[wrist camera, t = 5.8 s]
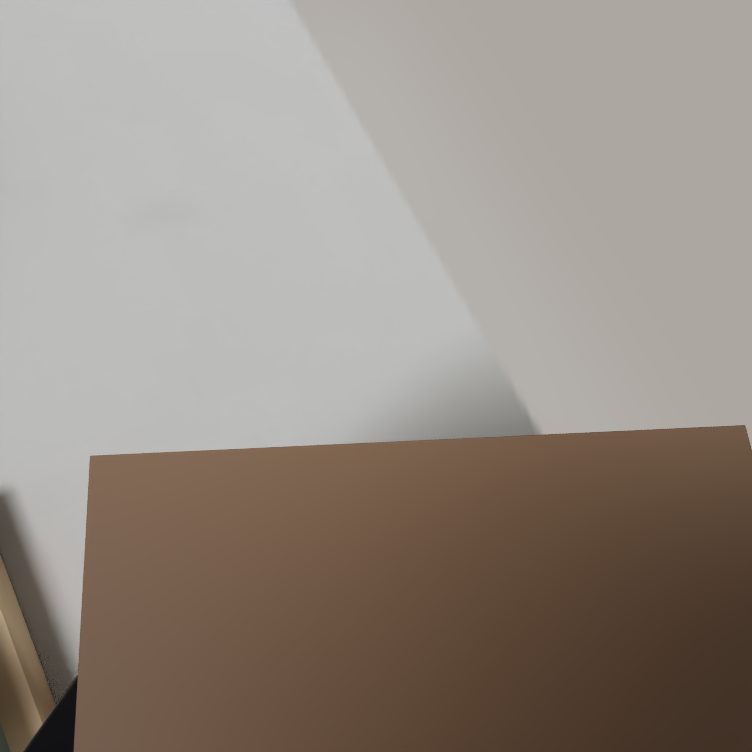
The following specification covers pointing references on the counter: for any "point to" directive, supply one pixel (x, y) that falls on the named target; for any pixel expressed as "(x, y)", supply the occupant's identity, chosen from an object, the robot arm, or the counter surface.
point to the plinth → (19, 675)
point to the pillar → (422, 596)
